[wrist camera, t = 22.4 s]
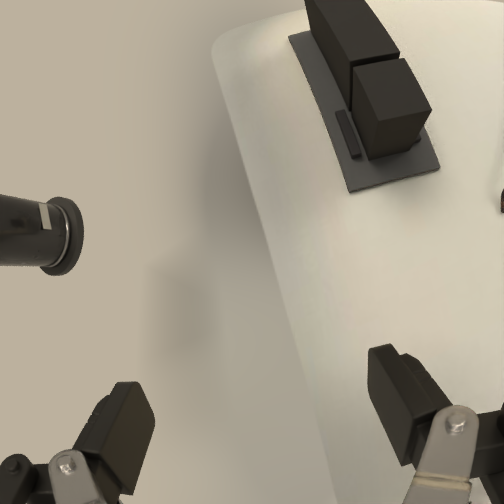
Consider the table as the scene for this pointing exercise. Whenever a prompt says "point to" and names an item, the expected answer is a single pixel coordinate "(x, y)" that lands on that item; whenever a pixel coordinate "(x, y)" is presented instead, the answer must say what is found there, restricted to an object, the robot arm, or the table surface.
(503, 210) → the eyeglasses
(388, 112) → the black rectangular box
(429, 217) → the table surface
